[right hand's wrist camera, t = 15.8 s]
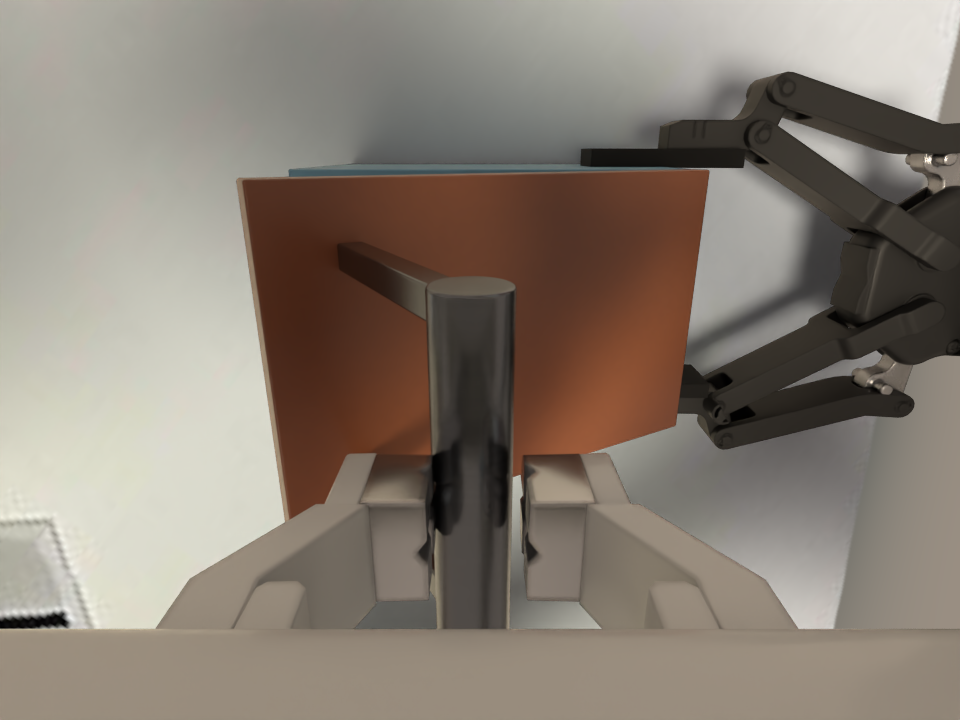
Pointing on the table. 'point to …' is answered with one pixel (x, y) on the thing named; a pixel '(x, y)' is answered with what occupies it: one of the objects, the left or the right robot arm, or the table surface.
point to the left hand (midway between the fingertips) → (578, 276)
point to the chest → (448, 169)
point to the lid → (468, 335)
